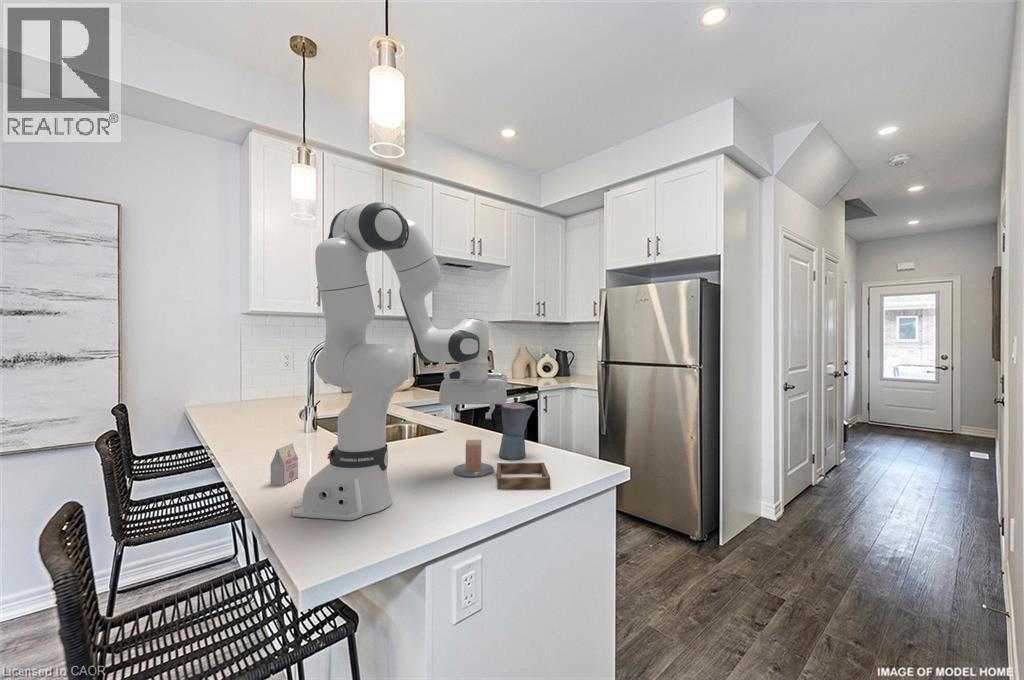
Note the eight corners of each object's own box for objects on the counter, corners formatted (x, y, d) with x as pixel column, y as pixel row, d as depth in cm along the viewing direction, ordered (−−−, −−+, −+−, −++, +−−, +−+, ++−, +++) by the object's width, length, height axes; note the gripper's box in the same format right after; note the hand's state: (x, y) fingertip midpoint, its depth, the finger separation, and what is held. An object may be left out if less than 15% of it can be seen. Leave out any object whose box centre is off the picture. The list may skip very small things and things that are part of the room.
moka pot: (534, 461, 145) (534, 399, 145) (487, 460, 145) (487, 399, 145) (533, 453, 155) (534, 395, 154) (489, 452, 155) (489, 395, 155)
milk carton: (270, 486, 121) (270, 449, 121) (286, 478, 128) (285, 443, 127) (283, 486, 120) (283, 449, 120) (298, 478, 127) (298, 443, 127)
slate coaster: (451, 477, 128) (451, 475, 128) (455, 465, 140) (455, 462, 140) (493, 477, 129) (493, 474, 129) (493, 465, 141) (493, 462, 141)
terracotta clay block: (466, 465, 137) (466, 439, 137) (481, 465, 138) (481, 439, 137) (465, 473, 130) (465, 445, 130) (480, 473, 130) (480, 445, 130)
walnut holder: (497, 489, 119) (497, 478, 119) (497, 473, 133) (497, 463, 133) (550, 489, 119) (550, 477, 119) (544, 472, 133) (544, 462, 133)
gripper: (505, 372, 139) (504, 416, 139) (439, 372, 135) (438, 418, 135) (509, 373, 133) (508, 420, 133) (440, 373, 129) (439, 421, 129)
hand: (472, 419), depth 134 cm, fingers open, 8 cm apart
